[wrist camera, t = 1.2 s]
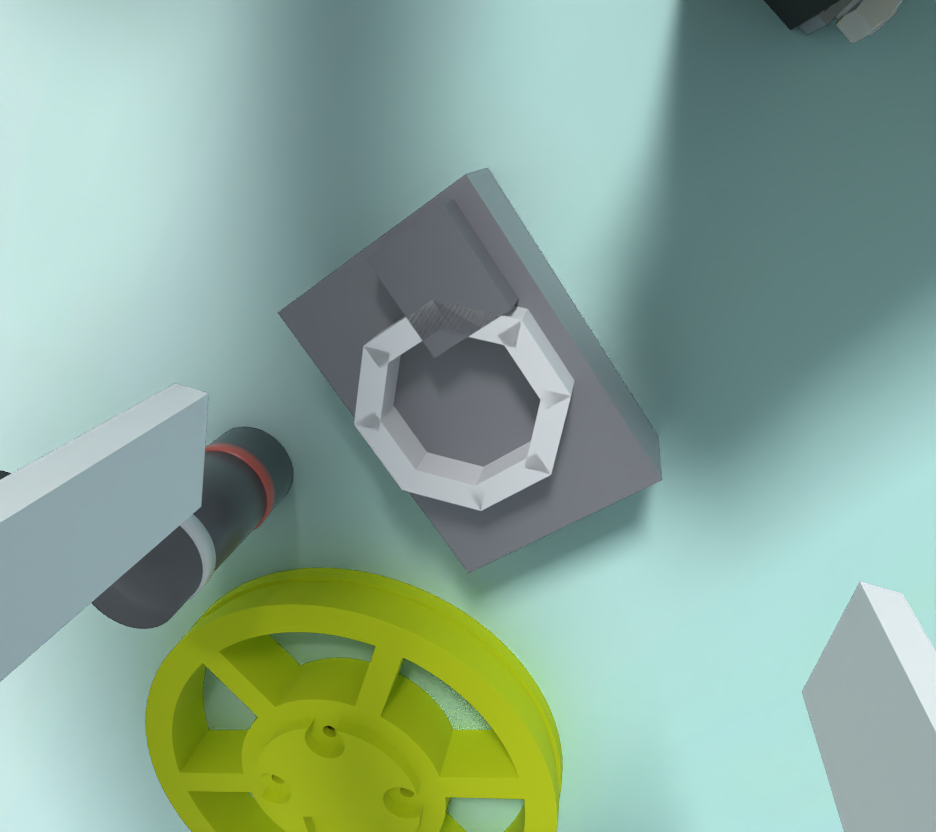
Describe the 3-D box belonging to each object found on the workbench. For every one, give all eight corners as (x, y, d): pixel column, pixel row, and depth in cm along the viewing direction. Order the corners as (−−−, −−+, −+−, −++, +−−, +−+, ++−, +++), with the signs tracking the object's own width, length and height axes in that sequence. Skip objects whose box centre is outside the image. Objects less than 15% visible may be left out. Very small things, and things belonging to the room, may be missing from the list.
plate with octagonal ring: (319, 290, 38) (257, 323, 32) (487, 167, 34) (455, 177, 28) (486, 524, 42) (460, 596, 35) (658, 436, 37) (664, 500, 31)
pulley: (176, 521, 47) (127, 563, 42) (602, 626, 43) (599, 686, 38) (184, 816, 58) (146, 875, 53) (524, 920, 54) (514, 993, 49)
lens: (194, 451, 44) (50, 558, 33) (256, 409, 42) (124, 509, 31) (249, 520, 45) (127, 646, 34) (312, 482, 43) (203, 603, 32)
